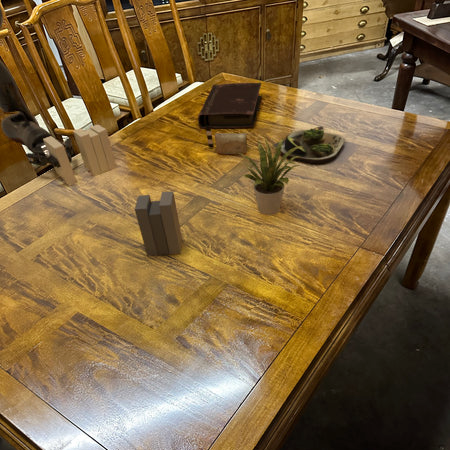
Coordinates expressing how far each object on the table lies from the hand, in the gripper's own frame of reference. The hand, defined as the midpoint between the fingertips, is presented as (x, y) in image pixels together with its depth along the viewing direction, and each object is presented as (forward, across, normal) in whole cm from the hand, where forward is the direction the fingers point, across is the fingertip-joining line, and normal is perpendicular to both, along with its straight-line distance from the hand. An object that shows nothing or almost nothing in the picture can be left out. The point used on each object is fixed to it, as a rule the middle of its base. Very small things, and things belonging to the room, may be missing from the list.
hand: (63, 161), depth 111 cm
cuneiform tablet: (+18, +41, +7) cm, 46 cm away
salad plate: (+34, +58, +7) cm, 68 cm away
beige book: (-3, 0, +6) cm, 7 cm away
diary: (-3, +60, +7) cm, 61 cm away
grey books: (+42, +3, +7) cm, 43 cm away
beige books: (-1, +10, +7) cm, 12 cm away
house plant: (+49, +30, +7) cm, 58 cm away
